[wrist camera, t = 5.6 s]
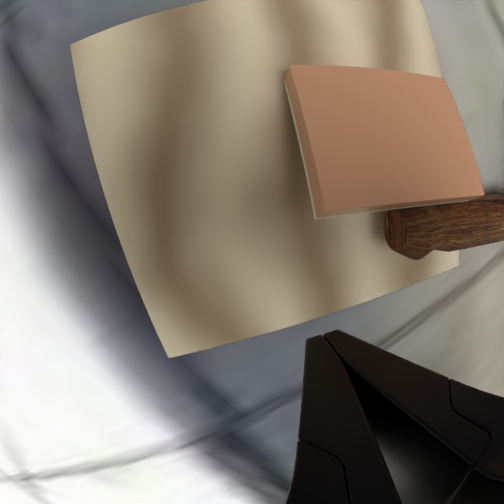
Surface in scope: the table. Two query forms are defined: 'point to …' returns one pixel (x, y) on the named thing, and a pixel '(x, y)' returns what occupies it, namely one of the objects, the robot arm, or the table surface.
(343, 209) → the tile
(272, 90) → the board
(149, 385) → the table surface
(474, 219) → the meat cleaver
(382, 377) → the robot arm
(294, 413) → the table surface
